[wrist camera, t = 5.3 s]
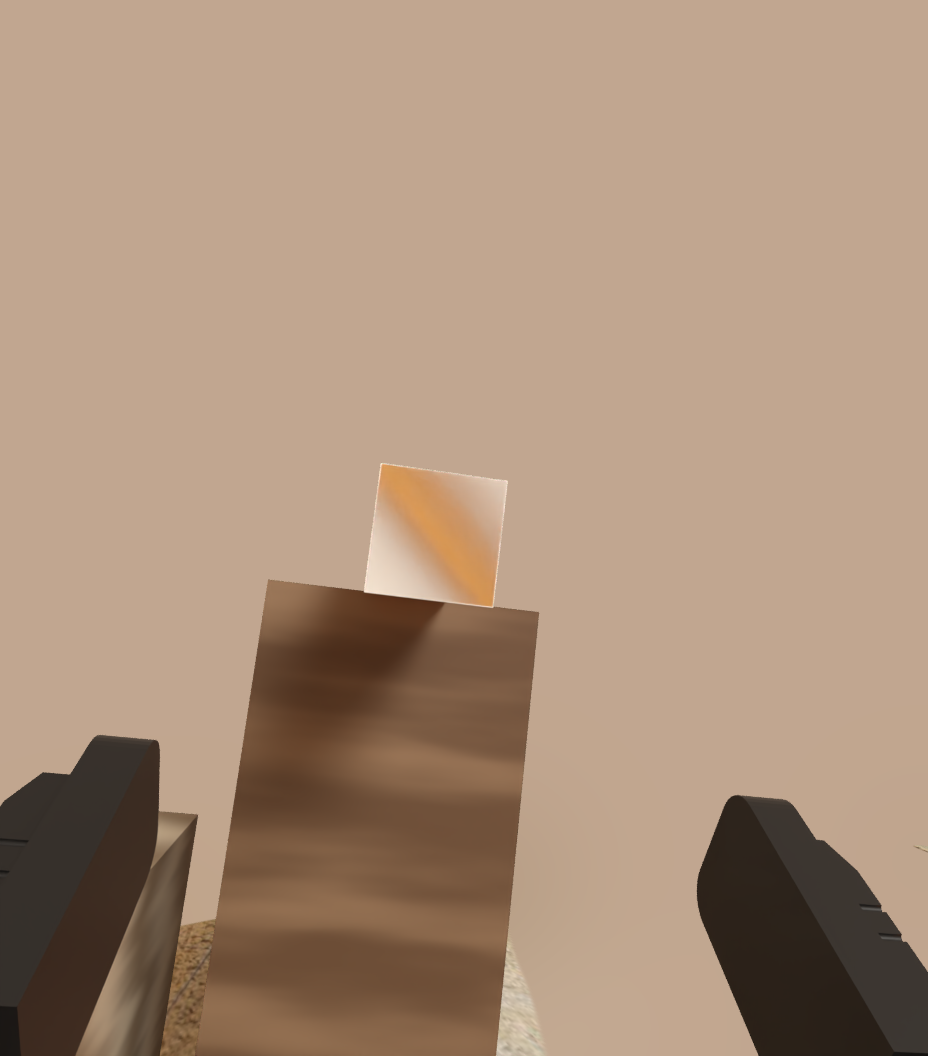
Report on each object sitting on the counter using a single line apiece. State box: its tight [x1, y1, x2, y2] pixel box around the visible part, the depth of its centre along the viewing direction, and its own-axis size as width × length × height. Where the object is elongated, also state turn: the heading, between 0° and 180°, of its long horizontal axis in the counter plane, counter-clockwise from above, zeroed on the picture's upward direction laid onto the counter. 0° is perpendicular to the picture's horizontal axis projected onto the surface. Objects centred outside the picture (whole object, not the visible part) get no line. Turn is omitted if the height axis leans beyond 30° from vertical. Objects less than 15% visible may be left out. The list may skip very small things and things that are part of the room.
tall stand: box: [195, 580, 539, 1056], centre depth 32 cm, size 16×10×33 cm, turn 8°
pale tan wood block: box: [364, 463, 508, 608], centre depth 30 cm, size 26×3×3 cm, turn 8°
